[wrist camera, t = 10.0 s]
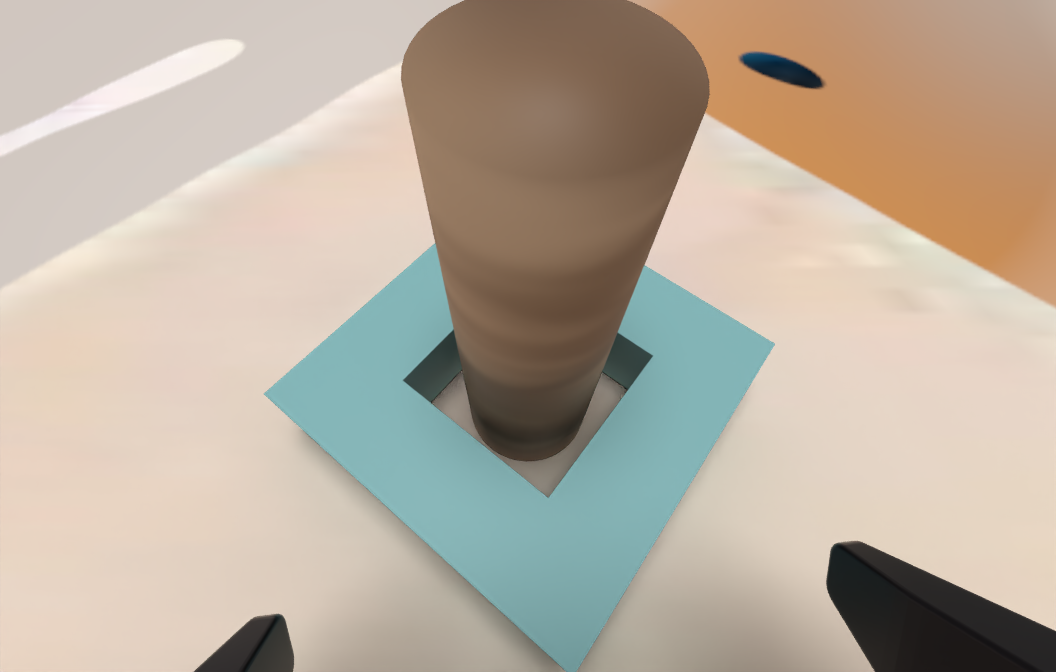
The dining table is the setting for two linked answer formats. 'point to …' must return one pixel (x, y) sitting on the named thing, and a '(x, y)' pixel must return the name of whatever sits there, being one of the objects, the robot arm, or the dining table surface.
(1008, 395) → the dining table surface
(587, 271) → the walnut pin
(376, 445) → the socket block
